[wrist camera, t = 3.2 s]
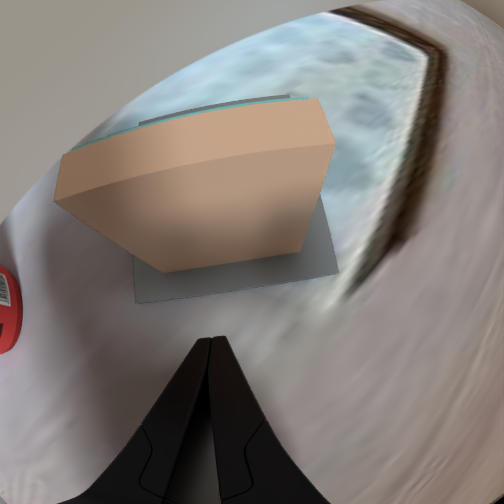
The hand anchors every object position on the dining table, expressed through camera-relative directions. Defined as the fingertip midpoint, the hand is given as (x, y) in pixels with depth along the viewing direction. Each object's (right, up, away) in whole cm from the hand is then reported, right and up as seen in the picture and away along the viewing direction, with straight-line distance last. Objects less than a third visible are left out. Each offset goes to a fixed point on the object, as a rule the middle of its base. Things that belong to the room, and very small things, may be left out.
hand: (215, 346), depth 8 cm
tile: (0, +3, +8) cm, 9 cm away
